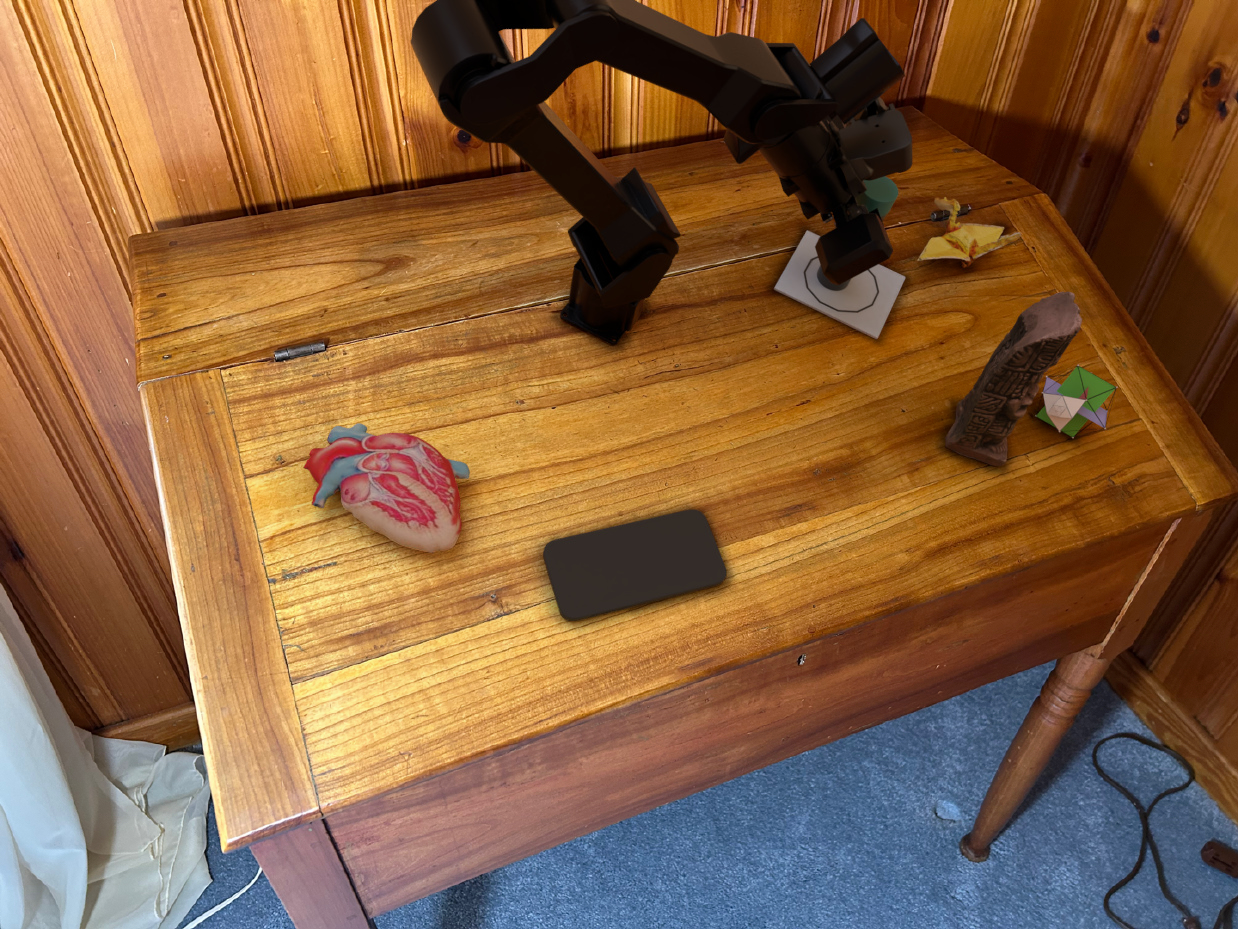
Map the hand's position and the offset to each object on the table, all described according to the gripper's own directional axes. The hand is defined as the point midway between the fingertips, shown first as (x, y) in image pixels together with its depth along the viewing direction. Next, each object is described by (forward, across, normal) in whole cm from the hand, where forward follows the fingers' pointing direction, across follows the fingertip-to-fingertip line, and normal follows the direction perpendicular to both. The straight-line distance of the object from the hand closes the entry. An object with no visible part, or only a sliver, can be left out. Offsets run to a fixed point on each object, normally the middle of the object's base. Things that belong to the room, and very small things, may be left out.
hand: (867, 235), depth 94 cm
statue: (+10, -20, -1) cm, 23 cm away
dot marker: (+4, 0, +6) cm, 7 cm away
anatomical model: (-29, -23, +39) cm, 54 cm away
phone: (-15, -32, +25) cm, 43 cm away
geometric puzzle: (+18, -19, -8) cm, 27 cm away
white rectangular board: (+4, -1, +5) cm, 7 cm away
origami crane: (+15, +4, -5) cm, 16 cm away
